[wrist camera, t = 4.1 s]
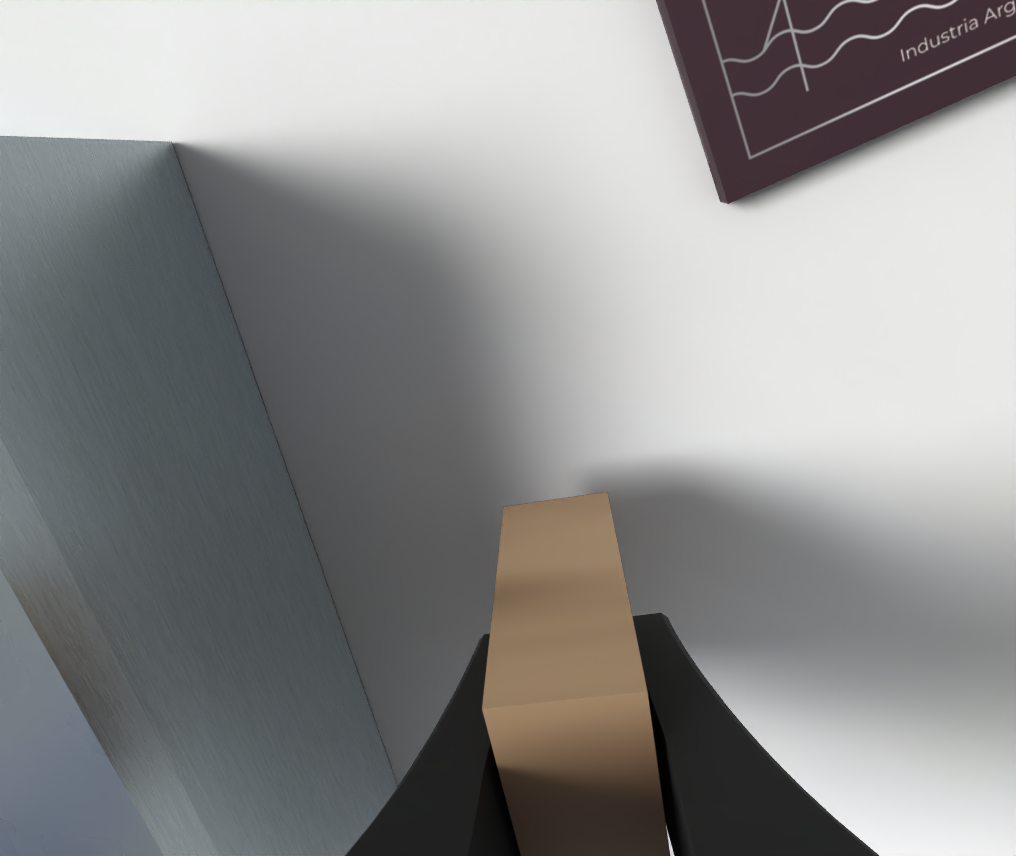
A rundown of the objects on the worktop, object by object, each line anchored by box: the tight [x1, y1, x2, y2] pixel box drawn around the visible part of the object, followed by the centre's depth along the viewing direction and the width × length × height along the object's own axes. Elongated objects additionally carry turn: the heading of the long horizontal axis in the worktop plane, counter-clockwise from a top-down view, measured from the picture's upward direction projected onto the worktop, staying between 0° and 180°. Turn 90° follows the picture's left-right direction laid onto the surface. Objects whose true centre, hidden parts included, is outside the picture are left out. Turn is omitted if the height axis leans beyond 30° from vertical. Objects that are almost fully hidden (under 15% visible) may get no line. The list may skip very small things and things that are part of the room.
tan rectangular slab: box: [482, 492, 670, 856], centre depth 11 cm, size 5×2×5 cm, turn 11°
